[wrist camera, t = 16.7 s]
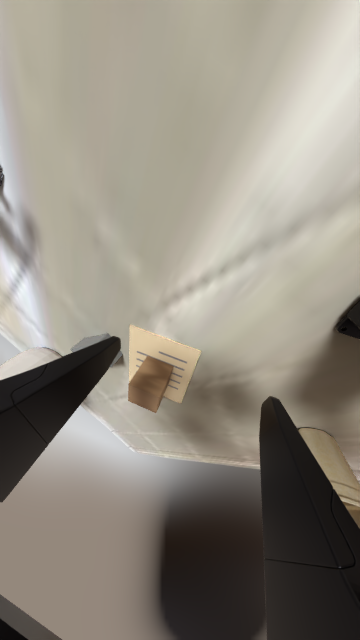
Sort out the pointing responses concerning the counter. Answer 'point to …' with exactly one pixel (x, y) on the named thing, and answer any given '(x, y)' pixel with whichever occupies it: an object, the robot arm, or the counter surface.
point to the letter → (163, 359)
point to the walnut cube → (150, 383)
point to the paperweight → (93, 340)
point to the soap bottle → (27, 361)
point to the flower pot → (335, 468)
